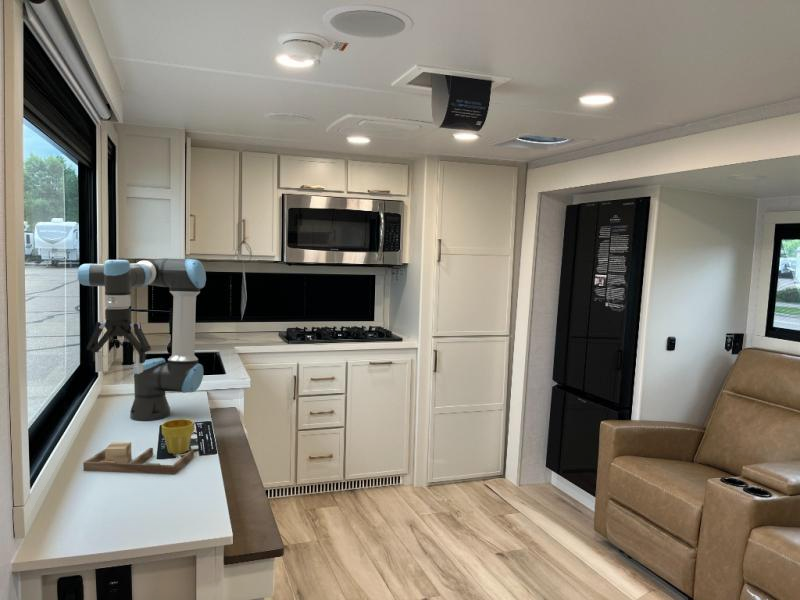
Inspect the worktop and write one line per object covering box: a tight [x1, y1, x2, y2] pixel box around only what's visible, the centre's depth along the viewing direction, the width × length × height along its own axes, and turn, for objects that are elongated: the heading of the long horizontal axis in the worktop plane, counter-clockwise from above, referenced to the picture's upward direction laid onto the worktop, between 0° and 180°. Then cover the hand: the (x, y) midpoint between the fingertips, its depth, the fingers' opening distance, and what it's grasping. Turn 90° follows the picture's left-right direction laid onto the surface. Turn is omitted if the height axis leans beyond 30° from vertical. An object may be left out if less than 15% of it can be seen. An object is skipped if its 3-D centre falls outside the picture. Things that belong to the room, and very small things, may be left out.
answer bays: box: [82, 447, 195, 475], centre depth 189 cm, size 15×29×3 cm, turn 87°
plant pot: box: [161, 418, 195, 455], centre depth 201 cm, size 10×10×10 cm
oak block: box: [104, 441, 133, 463], centre depth 189 cm, size 6×6×6 cm
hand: (119, 372), depth 191 cm, fingers open, 13 cm apart
